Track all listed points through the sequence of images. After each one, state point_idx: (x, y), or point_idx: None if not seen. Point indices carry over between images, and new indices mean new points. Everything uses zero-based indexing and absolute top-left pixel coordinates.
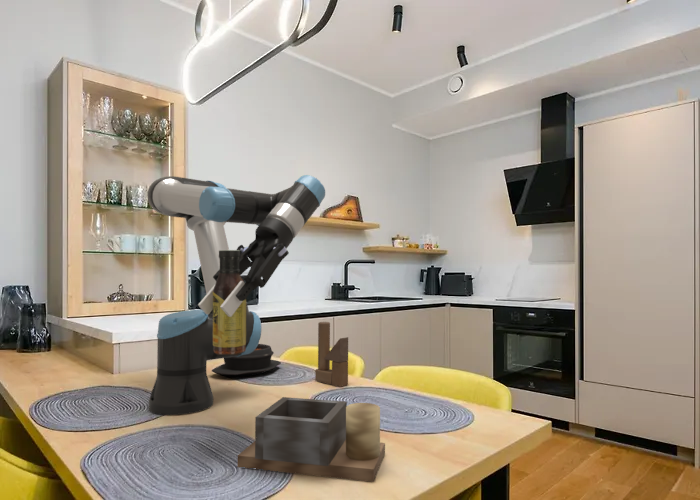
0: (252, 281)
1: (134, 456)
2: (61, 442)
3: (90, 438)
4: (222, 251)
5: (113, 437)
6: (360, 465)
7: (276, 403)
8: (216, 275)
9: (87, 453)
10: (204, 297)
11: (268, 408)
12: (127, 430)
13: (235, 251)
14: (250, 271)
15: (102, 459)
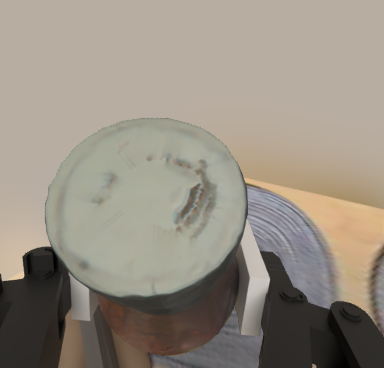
0: (15, 280)
1: (253, 233)
2: (357, 211)
3: (350, 236)
4: (146, 121)
5: (334, 254)
6: None
7: (96, 356)
8: (341, 312)
9: (300, 210)
10: (246, 224)
11: (92, 321)
12: (351, 280)
13: (56, 180)
14: (34, 318)
15: (271, 210)
